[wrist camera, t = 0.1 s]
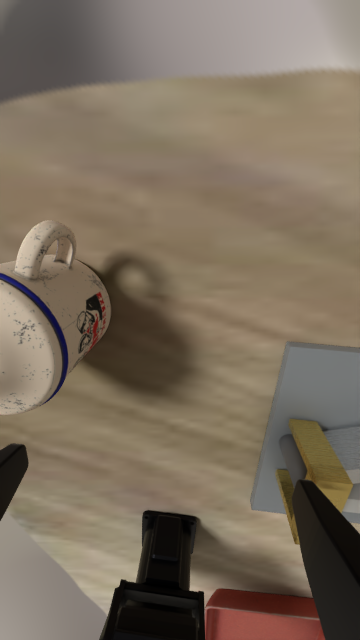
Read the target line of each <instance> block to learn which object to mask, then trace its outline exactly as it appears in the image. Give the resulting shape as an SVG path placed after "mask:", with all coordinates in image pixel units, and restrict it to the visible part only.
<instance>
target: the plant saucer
mask: <svg viewBox="0 0 360 640" xmlns="http://www.w3.org/2000/svg"><path fill="white" fill-rule="evenodd" d="M205 640H325V637H324V634H323V630H322V627H321V623H320V620H319V616H318V613H317V609H316V606H315V602H314V599H313V598H306V597H296V596H287V595H277V594H268V593H259V592H249V591H240V590H231V589H217V590H216V591H215V592H214V594H213V595H212V596H211V598H210V599H209V601H208V603H207V605H206V607H205Z"/></svg>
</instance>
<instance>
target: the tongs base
mask: <svg viewBox="0 0 360 640" xmlns="http://www.w3.org/2000/svg"><path fill="white" fill-rule="evenodd" d="M290 419H298V420H307V421H317V423H318V424H319V426H320V428H321V430H322V431H329V430H335V429H342V428H348V427H355V426H360V348H354V347H343V346H332V345H321V344H310V343H298V342H287V343H286V347H285V351H284V356H283V360H282V365H281V369H280V373H279V378H278V382H277V386H276V391H275V395H274V399H273V404H272V408H271V412H270V417H269V421H268V425H267V430H266V434H265V438H264V443H263V447H262V451H261V456H260V460H259V465H258V469H257V473H256V478H255V482H254V486H253V491H252V495H251V499H250V502H251V508H252V510H258V511H266V512H274V513H282V514H286V511H285V507H284V504H283V500H282V497H281V494H280V490H279V487H278V483H277V480H276V476H275V472H276V469H279V470H287V471H288V472H289V475H290V477H291V480H292V483H293V486H294V488H295V485H296V482H297V480H298V479H305V478H306V475H307V472H308V470H307V468H306V466H305V463H304V461H303V458H302V456H301V454H300V451H299V449H298V447H297V444H296V442H295V440H294V437H293V435H292V433H291V430H290V428H289V426H288V423H289V420H290ZM341 514H342V515H343V516H344V517H345V518H346V519H347V520H348V521H349V522H352V523H360V483H356V484H353V487H352V489H351V492H350V494H349V496H348V499H347V501H346V503H345V506H344V508H343V510H342V513H341Z"/></svg>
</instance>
